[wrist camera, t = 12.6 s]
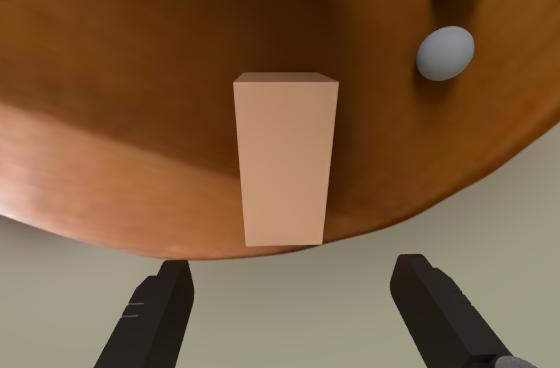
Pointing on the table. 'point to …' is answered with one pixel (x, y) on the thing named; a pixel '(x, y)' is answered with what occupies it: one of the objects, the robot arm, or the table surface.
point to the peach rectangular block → (284, 154)
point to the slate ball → (445, 53)
